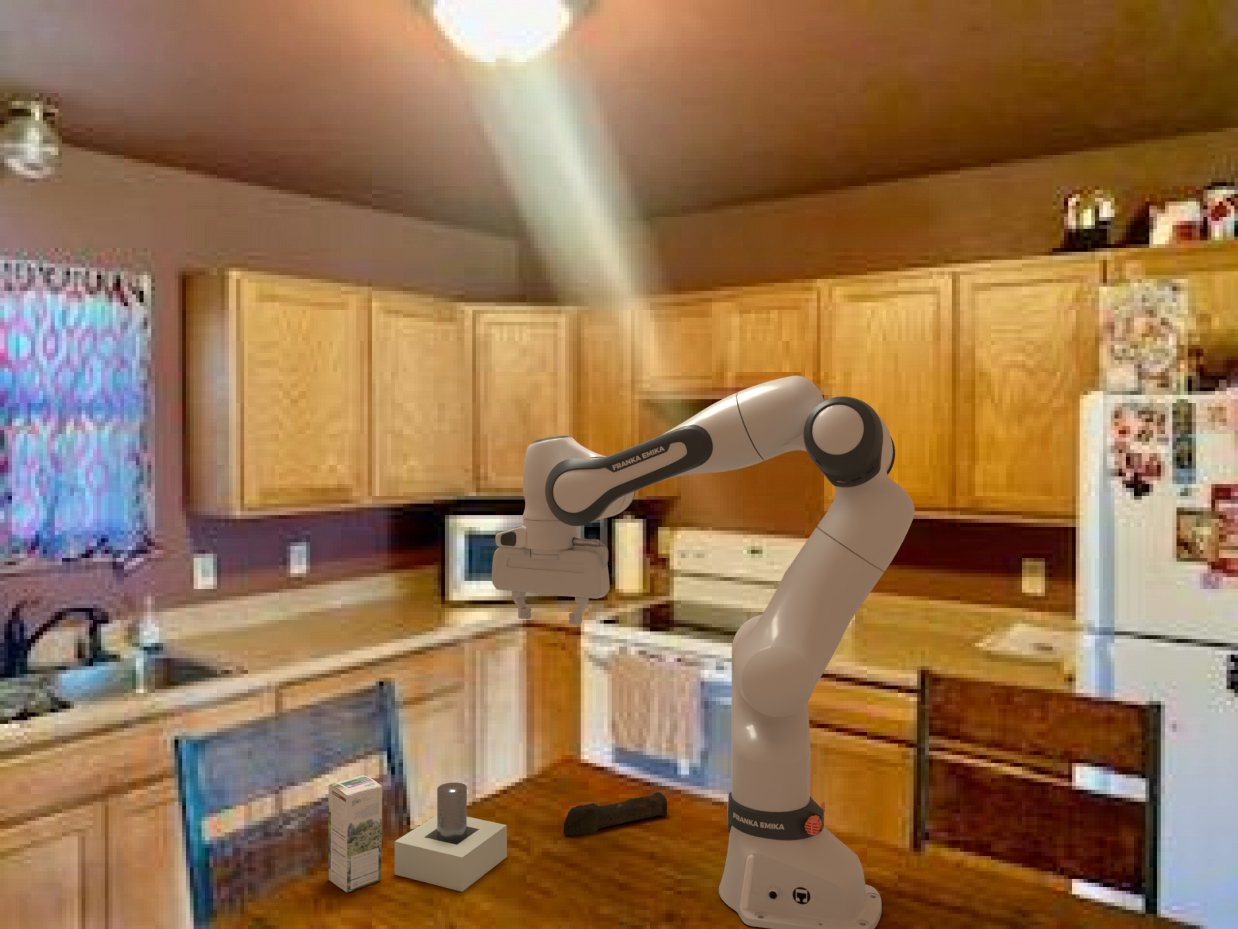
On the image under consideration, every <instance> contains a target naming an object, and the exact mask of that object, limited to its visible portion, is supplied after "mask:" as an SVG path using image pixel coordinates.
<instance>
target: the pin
mask: <svg viewBox="0 0 1238 929" xmlns="http://www.w3.org/2000/svg"><path fill="white" fill-rule="evenodd" d="M436 789H437V791H436V792H437V793H436V795H437V796H436V801H437V802H436V806H437V807H436V810H437V811H436V812H437V813H436V815H437V840H438V841H442V842H447V843H451V844H455V845H457V844H459V843H460V842H462V841H463V840H465V839H466V838H467V817H468V812H467V811H468V810H467V809H468V805H467V804H468V803H467V802H468V798H467V797H468V796H467V795H468V786H467V785H466V784H465V783H462V782H447V783H442V784H440V785H438V787H437V788H436Z"/></svg>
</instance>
